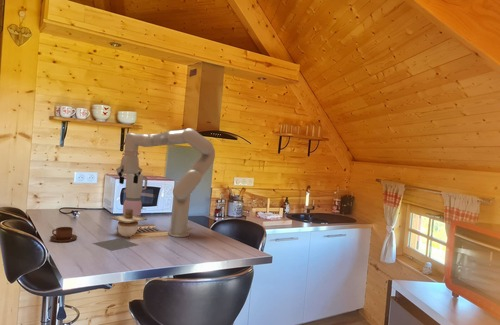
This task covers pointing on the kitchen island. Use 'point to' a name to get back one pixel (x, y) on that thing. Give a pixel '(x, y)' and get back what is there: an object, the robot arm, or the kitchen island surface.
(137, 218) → the birch lid
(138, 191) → the blender
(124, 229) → the lidded jar
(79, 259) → the kitchen island surface
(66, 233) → the cup and saucer
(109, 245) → the rubber mat
